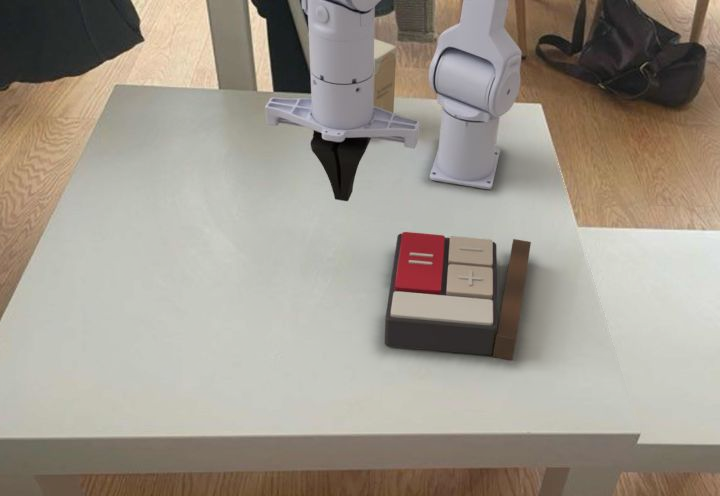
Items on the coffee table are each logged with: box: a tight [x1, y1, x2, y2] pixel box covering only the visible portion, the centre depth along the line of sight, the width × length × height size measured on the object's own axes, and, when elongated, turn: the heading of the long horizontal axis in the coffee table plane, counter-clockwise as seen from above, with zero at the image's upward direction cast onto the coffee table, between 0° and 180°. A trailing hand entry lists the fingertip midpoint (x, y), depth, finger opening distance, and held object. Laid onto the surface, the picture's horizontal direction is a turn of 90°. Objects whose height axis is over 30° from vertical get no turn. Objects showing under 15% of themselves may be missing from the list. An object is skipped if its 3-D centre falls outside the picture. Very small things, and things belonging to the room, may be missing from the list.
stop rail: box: [492, 238, 532, 361], centre depth 87 cm, size 16×2×3 cm, turn 171°
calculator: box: [384, 231, 498, 356], centre depth 86 cm, size 11×4×15 cm
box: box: [373, 38, 397, 113], centre depth 108 cm, size 5×4×11 cm
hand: (343, 195), depth 83 cm, fingers closed
